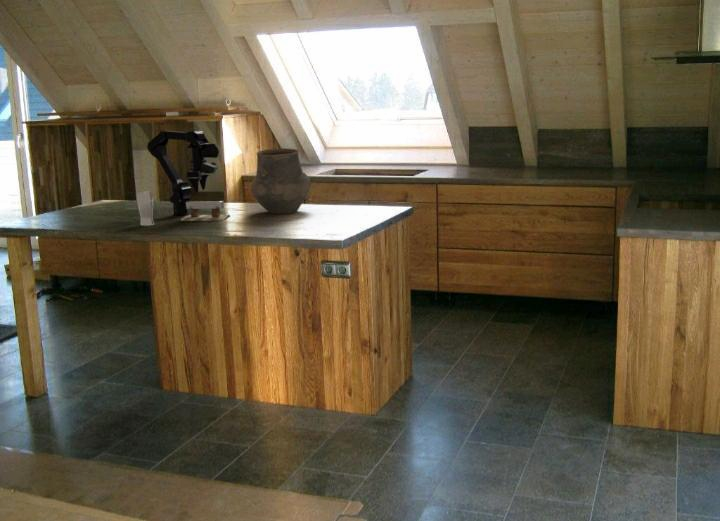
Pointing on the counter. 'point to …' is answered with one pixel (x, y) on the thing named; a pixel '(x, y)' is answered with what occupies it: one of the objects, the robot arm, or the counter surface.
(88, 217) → the counter surface
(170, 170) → the robot arm
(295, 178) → the ceramic pot
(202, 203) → the grey rod with balls
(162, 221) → the counter surface
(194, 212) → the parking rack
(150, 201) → the beer glass
